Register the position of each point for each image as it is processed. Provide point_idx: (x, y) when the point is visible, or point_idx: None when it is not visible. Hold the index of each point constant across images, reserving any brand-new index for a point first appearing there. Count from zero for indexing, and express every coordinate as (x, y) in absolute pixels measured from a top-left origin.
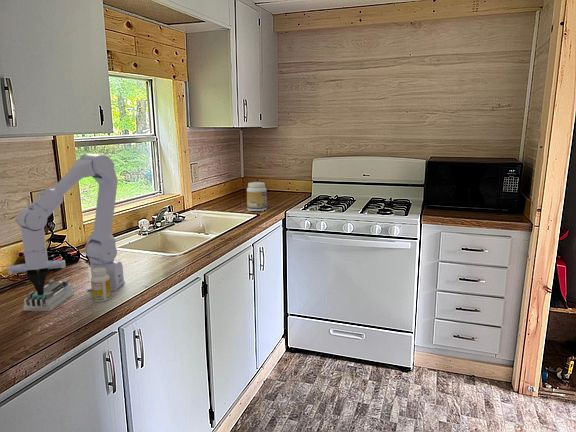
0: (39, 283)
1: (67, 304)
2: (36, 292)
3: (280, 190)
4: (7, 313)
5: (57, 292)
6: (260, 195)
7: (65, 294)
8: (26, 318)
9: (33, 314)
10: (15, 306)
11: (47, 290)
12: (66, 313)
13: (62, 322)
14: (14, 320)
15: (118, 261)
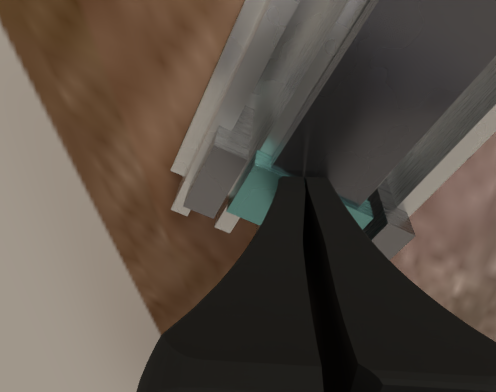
0: (302, 231)
1: (470, 162)
2: (260, 171)
3: None
4: (82, 150)
5: (450, 168)
6: None
7: None
8: (221, 256)
9: (250, 225)
10: (83, 32)
11: (366, 144)
12: (425, 279)
13: None
14: (164, 255)
15: None
